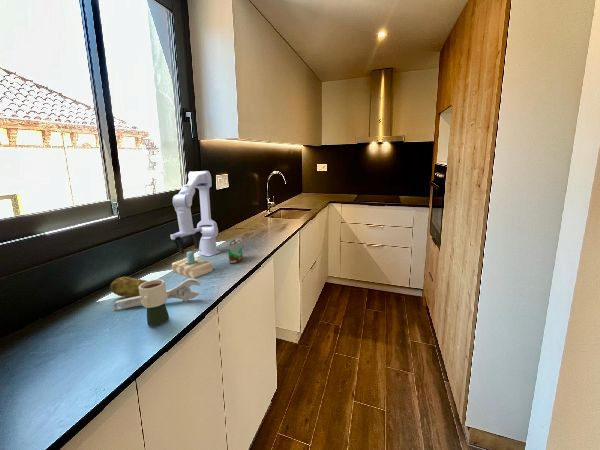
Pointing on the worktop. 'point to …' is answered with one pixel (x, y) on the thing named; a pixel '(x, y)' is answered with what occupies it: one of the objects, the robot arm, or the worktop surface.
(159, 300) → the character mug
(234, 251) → the food container
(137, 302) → the wrench
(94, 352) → the worktop surface
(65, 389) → the worktop surface
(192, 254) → the peg
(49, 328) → the worktop surface
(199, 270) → the hole block
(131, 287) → the potato
